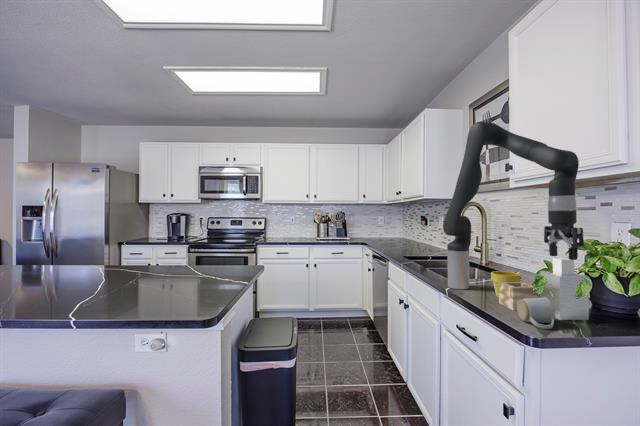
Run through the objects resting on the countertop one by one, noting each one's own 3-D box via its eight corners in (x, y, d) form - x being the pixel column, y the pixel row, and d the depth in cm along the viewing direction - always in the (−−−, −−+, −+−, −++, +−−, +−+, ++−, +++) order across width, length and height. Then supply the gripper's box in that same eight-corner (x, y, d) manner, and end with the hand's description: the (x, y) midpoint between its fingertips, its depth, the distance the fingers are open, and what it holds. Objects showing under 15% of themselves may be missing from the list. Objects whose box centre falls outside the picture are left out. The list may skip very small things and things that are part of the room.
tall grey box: (540, 311, 109) (540, 271, 109) (566, 310, 109) (566, 270, 109) (560, 320, 100) (559, 276, 100) (588, 319, 100) (588, 276, 100)
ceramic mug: (515, 317, 103) (515, 294, 103) (541, 318, 102) (541, 294, 102) (532, 329, 93) (532, 304, 93) (562, 330, 92) (562, 305, 92)
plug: (552, 284, 107) (552, 258, 107) (567, 284, 107) (566, 257, 107) (561, 287, 103) (561, 259, 103) (576, 286, 103) (576, 259, 103)
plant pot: (512, 293, 132) (512, 270, 132) (526, 300, 122) (525, 275, 122) (487, 293, 133) (486, 270, 133) (498, 300, 123) (498, 275, 123)
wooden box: (499, 303, 119) (498, 282, 119) (522, 302, 119) (522, 282, 119) (513, 310, 110) (513, 287, 110) (538, 310, 110) (538, 287, 110)
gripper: (536, 210, 112) (537, 255, 112) (567, 209, 98) (568, 261, 98) (557, 209, 112) (558, 254, 112) (591, 209, 98) (592, 260, 98)
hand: (562, 257), depth 105 cm, fingers open, 8 cm apart
